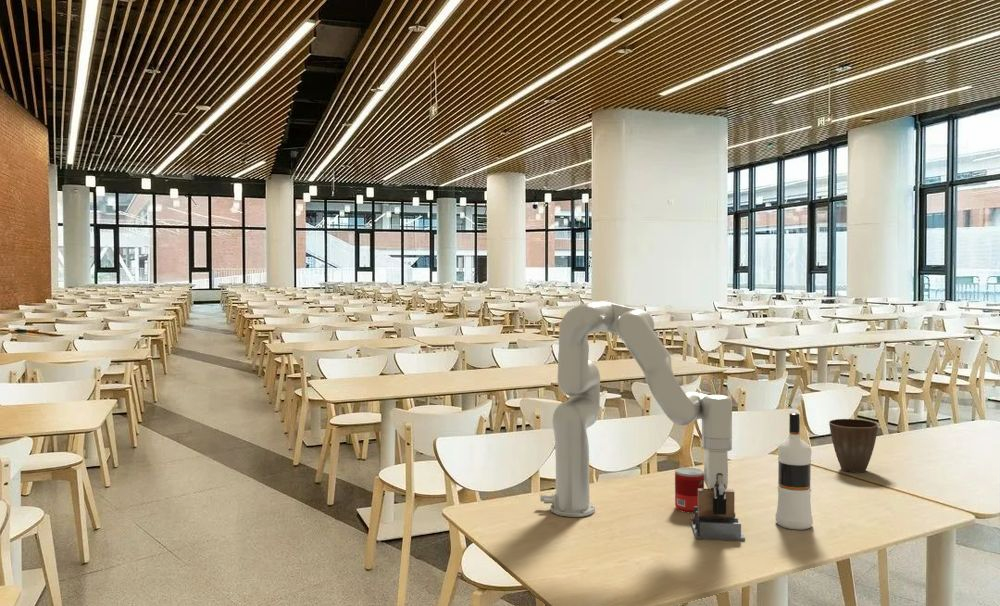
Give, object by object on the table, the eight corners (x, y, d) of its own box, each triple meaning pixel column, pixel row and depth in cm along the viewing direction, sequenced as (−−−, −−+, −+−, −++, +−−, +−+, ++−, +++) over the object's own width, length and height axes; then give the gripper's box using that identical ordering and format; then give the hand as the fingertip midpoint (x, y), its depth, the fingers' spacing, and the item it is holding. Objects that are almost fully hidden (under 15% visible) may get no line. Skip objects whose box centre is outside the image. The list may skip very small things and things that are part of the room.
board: (698, 528, 197) (698, 490, 197) (697, 525, 199) (697, 488, 199) (734, 529, 196) (734, 491, 196) (732, 527, 198) (733, 489, 198)
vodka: (767, 522, 204) (768, 411, 203) (793, 517, 208) (793, 408, 207) (795, 533, 196) (795, 417, 194) (820, 527, 200) (821, 414, 198)
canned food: (704, 514, 212) (704, 475, 211) (675, 512, 213) (675, 473, 213) (703, 505, 219) (703, 468, 219) (674, 504, 221) (674, 466, 220)
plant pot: (847, 477, 247) (848, 428, 246) (819, 465, 261) (819, 419, 261) (887, 474, 250) (888, 426, 249) (857, 463, 264) (858, 417, 264)
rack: (696, 539, 192) (696, 522, 192) (690, 521, 205) (690, 506, 205) (745, 541, 190) (745, 524, 190) (736, 523, 203) (736, 507, 203)
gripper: (697, 435, 206) (697, 497, 207) (706, 450, 189) (706, 518, 189) (726, 436, 205) (726, 498, 205) (737, 451, 188) (737, 519, 188)
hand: (716, 508), depth 197 cm, fingers open, 9 cm apart
